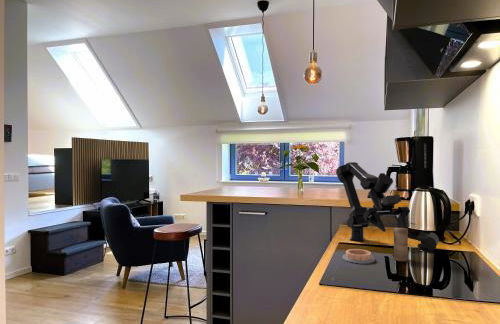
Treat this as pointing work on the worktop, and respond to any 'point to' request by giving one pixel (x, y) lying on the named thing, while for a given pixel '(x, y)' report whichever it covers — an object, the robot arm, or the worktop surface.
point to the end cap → (427, 241)
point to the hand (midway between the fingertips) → (395, 230)
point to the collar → (358, 256)
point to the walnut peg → (401, 244)
